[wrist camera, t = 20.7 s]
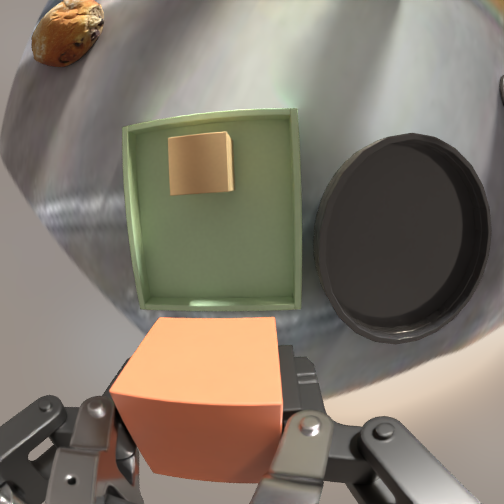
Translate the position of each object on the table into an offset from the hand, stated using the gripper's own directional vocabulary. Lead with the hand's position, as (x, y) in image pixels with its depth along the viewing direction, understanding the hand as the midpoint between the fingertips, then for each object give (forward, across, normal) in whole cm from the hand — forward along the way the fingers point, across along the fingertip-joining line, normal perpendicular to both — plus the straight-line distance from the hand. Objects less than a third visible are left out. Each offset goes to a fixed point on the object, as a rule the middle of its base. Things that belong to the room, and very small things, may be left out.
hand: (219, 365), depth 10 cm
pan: (+15, -16, -1) cm, 23 cm away
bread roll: (+16, +19, -28) cm, 38 cm away
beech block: (+15, +2, -8) cm, 17 cm away
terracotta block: (0, 0, 0) cm, 0 cm away
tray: (+16, +2, -4) cm, 16 cm away
